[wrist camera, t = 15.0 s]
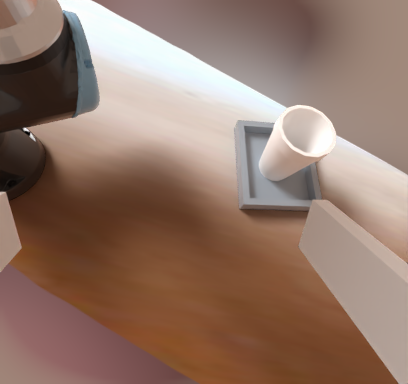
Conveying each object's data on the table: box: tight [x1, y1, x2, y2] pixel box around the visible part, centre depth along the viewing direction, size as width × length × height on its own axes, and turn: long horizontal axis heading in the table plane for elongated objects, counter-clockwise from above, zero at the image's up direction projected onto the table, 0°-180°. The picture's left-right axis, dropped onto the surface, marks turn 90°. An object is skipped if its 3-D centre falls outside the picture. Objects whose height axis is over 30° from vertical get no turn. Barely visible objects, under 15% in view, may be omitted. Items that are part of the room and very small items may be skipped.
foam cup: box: [259, 105, 336, 181], centre depth 43 cm, size 10×9×13 cm
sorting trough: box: [234, 120, 322, 211], centre depth 49 cm, size 15×18×3 cm
